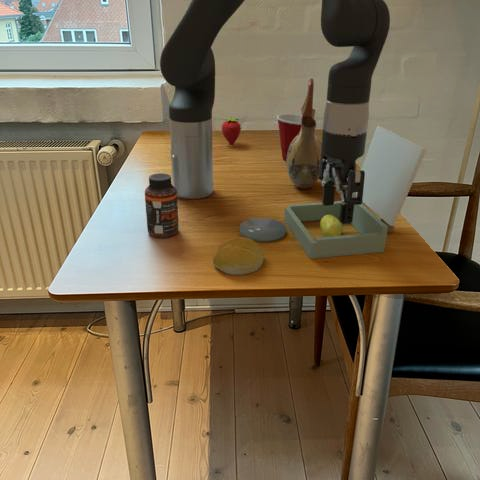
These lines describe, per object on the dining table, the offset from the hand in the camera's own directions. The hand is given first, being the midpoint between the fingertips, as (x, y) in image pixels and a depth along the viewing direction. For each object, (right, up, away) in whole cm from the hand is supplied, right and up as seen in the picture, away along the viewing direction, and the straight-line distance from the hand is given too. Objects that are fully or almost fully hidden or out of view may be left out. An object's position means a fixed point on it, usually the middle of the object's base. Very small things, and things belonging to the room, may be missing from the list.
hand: (336, 213), depth 86 cm
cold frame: (-1, -4, +2) cm, 4 cm away
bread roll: (-19, -9, -8) cm, 22 cm away
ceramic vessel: (-3, +8, +26) cm, 27 cm away
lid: (+8, +7, -2) cm, 11 cm away
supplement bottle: (-33, -4, +2) cm, 33 cm away
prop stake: (+11, -3, +4) cm, 12 cm away
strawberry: (-21, +24, +57) cm, 66 cm away
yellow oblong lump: (-1, -4, +2) cm, 5 cm away
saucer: (-14, -3, +3) cm, 14 cm away
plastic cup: (-3, +18, +45) cm, 48 cm away
